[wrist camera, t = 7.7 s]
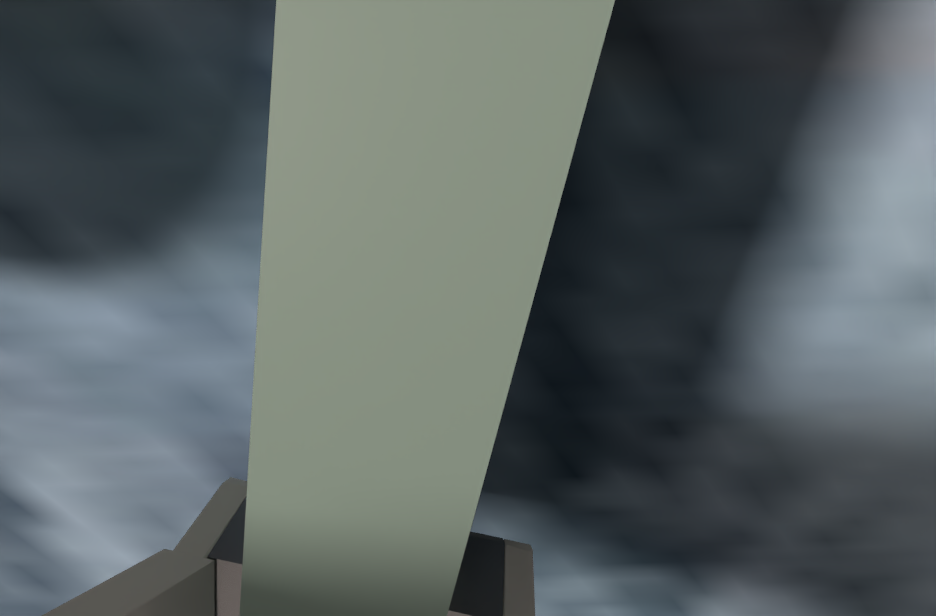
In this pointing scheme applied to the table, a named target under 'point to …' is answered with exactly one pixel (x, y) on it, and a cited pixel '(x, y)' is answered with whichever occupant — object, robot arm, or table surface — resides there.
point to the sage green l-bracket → (398, 283)
